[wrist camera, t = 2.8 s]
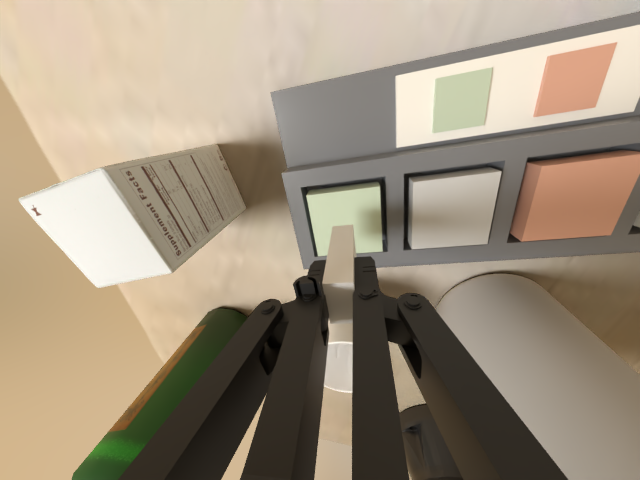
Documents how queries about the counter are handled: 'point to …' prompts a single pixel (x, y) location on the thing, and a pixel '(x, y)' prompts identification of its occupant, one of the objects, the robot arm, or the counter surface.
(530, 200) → the key terracotta
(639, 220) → the key white
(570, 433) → the cylinder vase
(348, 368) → the white cup
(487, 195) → the key grey
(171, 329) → the counter surface
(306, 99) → the key pad
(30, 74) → the counter surface
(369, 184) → the key sage
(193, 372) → the bottle
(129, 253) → the supplement box
